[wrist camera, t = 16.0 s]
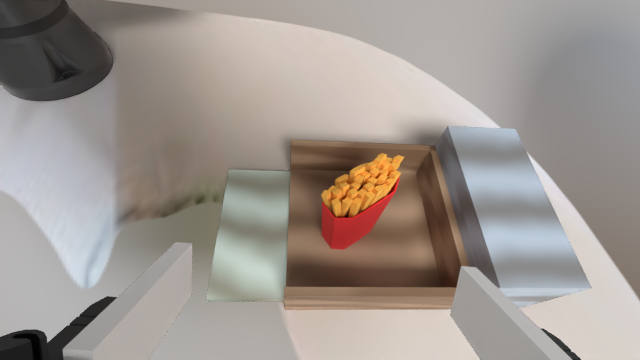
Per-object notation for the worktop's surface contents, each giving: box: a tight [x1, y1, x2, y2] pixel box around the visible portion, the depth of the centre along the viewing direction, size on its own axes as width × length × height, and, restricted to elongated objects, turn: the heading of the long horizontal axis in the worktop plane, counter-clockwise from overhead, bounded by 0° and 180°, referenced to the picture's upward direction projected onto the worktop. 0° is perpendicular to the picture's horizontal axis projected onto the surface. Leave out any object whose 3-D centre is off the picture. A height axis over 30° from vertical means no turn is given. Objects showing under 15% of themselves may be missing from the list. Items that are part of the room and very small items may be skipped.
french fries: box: [321, 153, 404, 250], centre depth 30 cm, size 8×4×12 cm, turn 126°
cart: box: [206, 126, 591, 310], centre depth 33 cm, size 18×34×10 cm, turn 91°
